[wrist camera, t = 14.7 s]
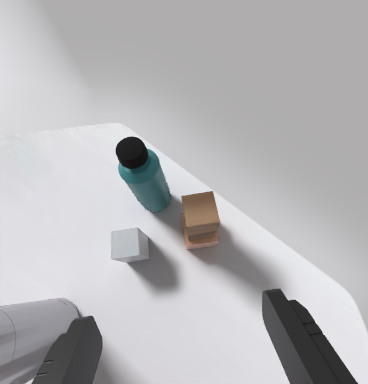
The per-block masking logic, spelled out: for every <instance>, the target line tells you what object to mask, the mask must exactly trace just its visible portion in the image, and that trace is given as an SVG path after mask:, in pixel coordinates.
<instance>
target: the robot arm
mask: <svg viewBox="0 0 368 384" xmlns="http://www.w3.org/2000/svg"><path fill="white" fill-rule="evenodd" d="M262 315H263V320H264V324H265V327H266V329H267V331H268V334H269V336H270V338H271V341H272V343H273V345H274V348H275V350H276V352H277V354H278V357H279V359H280V361H281V364H282V366H283V368H284V371H285V373H286V375H287V377H288V380H289V382H290V384H358V383H357V382H356V380H355V379H354V378H353V376H352V375H351V373H350V372H349V370H348V369H347V368H346V366H345V365H344V363H343V362H342V360H341V359H340V357H339V356H338V354H337V353H336V351H335V350H334V348H333V347H332V346H331V344H330V343H329V341H328V340H327V338H326V337H325V335H323V333H322V331H321V329H320V328H319V326H318V325H317V324H316V323H315V321H314V319H313V318H312V316H311V315H310V313H309V312H308V310H307V309H306V308H305V307H303V306H302V305H301V304H300V303H299V302H297V301H296V300H289V301H288V300H287V298H286V297H285V295H284V294H283V292H282V291H281V289H272V290H265V291H263V293H262ZM101 351H102V336H101V334H100V331H99V329H98V327H97V324H96V322H95V320H94V318H93V316H87V317H80V318H79V314H78V311H77V309H76V307H75V306H74V305H73V303H72V302H70V301H68V300H66V299H49V300H43V301H35V302H28V303H21V304H13V305H6V306H0V384H25V383H26V382H28V381H30V380H31V379H33V378H34V380H33V382H32V384H92V383H93V379H94V376H95V372H96V369H97V365H98V362H99V359H100V355H101Z"/></svg>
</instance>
